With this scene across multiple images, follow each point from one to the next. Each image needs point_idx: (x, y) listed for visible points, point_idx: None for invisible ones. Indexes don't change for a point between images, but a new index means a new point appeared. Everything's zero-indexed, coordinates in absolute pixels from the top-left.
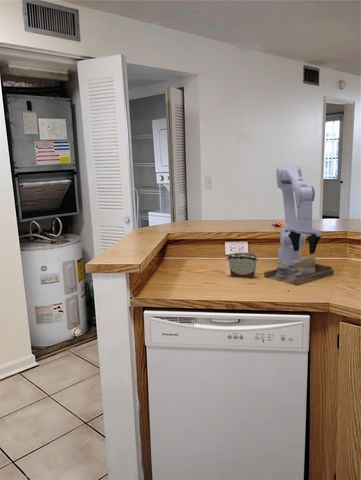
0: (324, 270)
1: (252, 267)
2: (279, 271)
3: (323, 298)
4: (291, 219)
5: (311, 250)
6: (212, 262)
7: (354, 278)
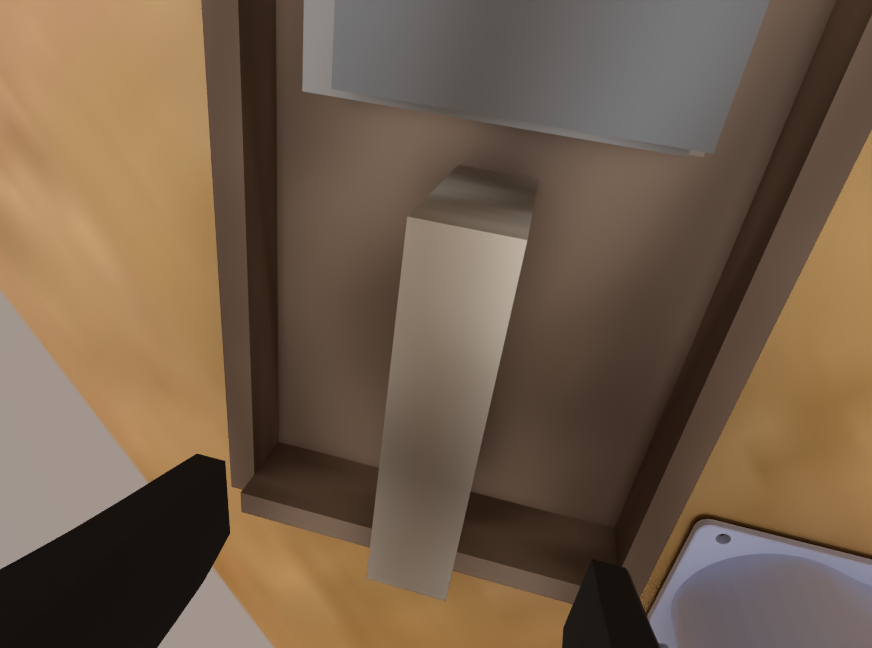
0: (324, 476)
1: None
2: None
3: None
4: None
5: (127, 498)
6: None
7: (147, 466)
